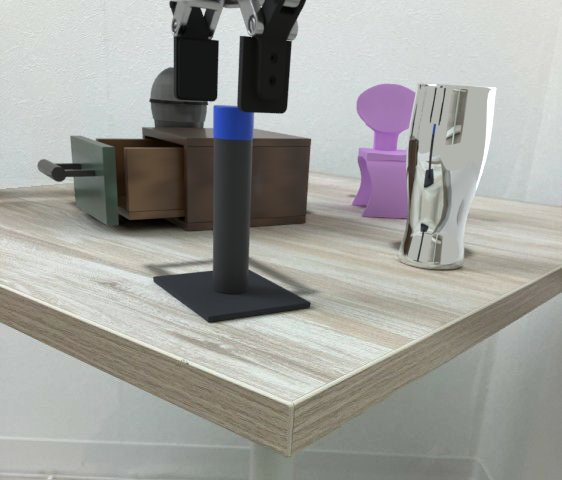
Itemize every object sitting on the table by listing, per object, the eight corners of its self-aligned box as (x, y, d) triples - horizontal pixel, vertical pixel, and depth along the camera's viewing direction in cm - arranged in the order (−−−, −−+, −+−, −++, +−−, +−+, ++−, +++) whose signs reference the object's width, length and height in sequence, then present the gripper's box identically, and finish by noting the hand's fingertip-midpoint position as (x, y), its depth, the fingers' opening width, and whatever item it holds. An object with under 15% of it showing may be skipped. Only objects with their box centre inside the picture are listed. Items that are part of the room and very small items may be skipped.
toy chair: (354, 216, 79) (367, 82, 72) (344, 204, 87) (355, 81, 80) (421, 219, 79) (439, 86, 73) (404, 206, 87) (420, 85, 81)
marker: (205, 285, 48) (206, 104, 43) (238, 282, 49) (242, 105, 44) (222, 296, 46) (224, 107, 41) (255, 292, 47) (261, 108, 42)
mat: (153, 281, 50) (153, 276, 50) (244, 271, 54) (244, 267, 53) (208, 322, 42) (208, 316, 42) (310, 307, 46) (310, 302, 46)
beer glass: (467, 256, 63) (496, 87, 56) (469, 274, 56) (502, 87, 50) (395, 249, 64) (415, 83, 58) (389, 266, 58) (412, 82, 51)
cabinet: (187, 231, 67) (186, 137, 63) (144, 209, 76) (141, 127, 72) (305, 222, 74) (311, 138, 70) (252, 203, 83) (255, 128, 80)
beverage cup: (159, 202, 80) (155, 21, 72) (146, 193, 86) (140, 24, 78) (215, 201, 83) (217, 26, 75) (198, 192, 89) (198, 29, 81)
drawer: (62, 228, 61) (55, 147, 58) (36, 207, 69) (28, 135, 66) (230, 218, 69) (232, 146, 66) (188, 200, 78) (187, 136, 75)
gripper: (119, -204, 40) (128, 94, 47) (252, -321, 27) (235, 116, 34) (227, -173, 44) (219, 99, 51) (389, -263, 31) (348, 120, 38)
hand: (226, 105), depth 43 cm, fingers open, 9 cm apart
